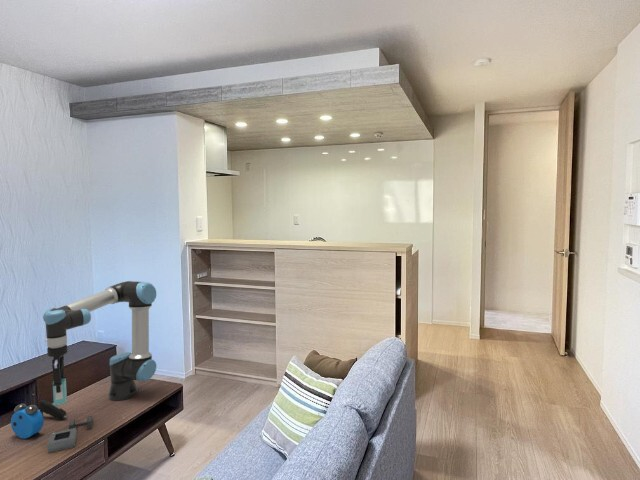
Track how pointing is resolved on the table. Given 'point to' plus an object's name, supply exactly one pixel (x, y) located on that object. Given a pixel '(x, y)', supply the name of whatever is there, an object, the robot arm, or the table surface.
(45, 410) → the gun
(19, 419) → the alarm clock
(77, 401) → the table surface
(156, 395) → the table surface
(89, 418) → the grey u-shaped bracket
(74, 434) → the port panel
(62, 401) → the plug
